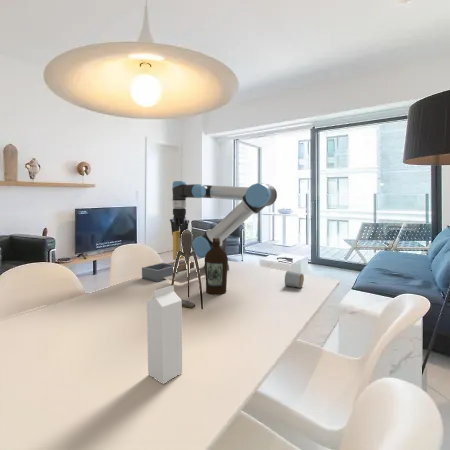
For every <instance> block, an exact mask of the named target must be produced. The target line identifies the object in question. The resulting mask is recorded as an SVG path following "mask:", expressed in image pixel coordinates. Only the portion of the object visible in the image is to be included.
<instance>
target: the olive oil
mask: <svg viewBox="0 0 450 450" xmlns="http://www.w3.org/2000/svg"><path fill="white" fill-rule="evenodd" d="M204 265H205V268H204V272H205V273H204V274H205V293H206V294H209V295H212V296H219V295H221V296H222V295H223V294H226V293H227V281H228V280H227V279H228V271H227V266H228V265H229V258H228V255H227V252H226V253H225V252H224V251H223V249H222V248H221V247H220V238H213V246H212V248H211V249H210V250H209V251H208V252H207V253H206V256H205V257H204Z"/></svg>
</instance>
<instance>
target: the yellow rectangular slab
mask: <svg viewBox="0 0 450 450" xmlns="http://www.w3.org/2000/svg"><path fill="white" fill-rule="evenodd" d="M179 238H180V230H179V231H176V232H173V236H172V260H174V261H177V260H176V256H177V252H178V251H179V250H181V251H182V249H180V239H179ZM183 259H185V258H184V257H183V256H181V257H180V259H179V260H183Z"/></svg>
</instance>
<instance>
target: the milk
mask: <svg viewBox="0 0 450 450" xmlns="http://www.w3.org/2000/svg"><path fill="white" fill-rule="evenodd" d="M182 302H183V300H182V299H181V298H180V296H178V295H177V293H176V292H175V286H174V285H168V286H166V287H161V288H160V289H156V290H154V291H153V297H152V298H150V299H148V300H147V301H146V327H147V329H146V331H147V333H146V334H147V373H148V374H149V375H151V376H152V377H154V378H156V379H157V380H159V381H160V382H162V383H165V382H166V381H169V380H170V379H172V378H173V377H175V376H177V375H179V374H181V373H182V374H183V331H182V330H183V329H182V328H183V320H182V319H183V317H182V316H183V314H182V313H183V311H182V310H183V307H182V305H183V304H182ZM182 374H181V375H182ZM149 375H148V376H149ZM179 376H180V375H179ZM152 377H151V378H152ZM177 377H178V376H177ZM157 380H156V381H157ZM172 380H173V379H172ZM160 382H159V383H160ZM169 382H170V381H169Z"/></svg>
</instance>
